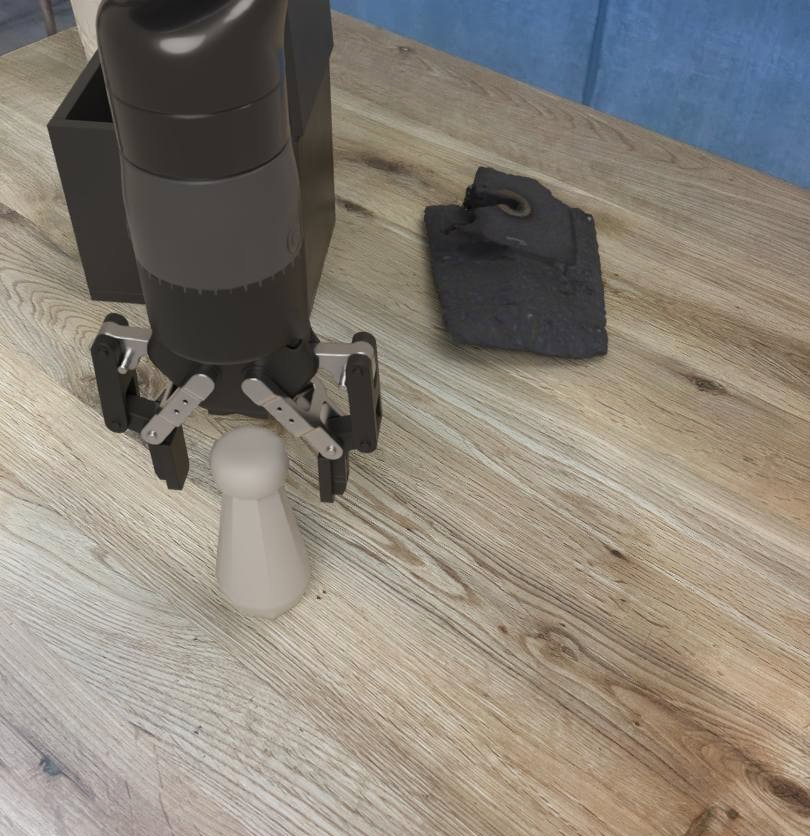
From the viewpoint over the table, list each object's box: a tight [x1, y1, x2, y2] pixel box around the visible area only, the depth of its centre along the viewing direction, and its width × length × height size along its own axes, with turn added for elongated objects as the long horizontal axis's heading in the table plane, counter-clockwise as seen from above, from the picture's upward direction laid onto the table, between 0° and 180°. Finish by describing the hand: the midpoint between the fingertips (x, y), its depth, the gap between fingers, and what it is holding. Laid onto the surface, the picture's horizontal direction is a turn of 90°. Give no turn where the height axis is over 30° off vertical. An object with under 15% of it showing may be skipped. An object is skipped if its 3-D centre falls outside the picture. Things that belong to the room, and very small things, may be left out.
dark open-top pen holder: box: [46, 49, 337, 317], centre depth 84 cm, size 18×14×15 cm
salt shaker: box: [208, 425, 313, 620], centre depth 61 cm, size 6×6×13 cm
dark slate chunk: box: [423, 165, 609, 360], centre depth 86 cm, size 15×22×5 cm
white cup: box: [69, 0, 102, 63], centre depth 108 cm, size 8×8×10 cm
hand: (254, 485), depth 59 cm, fingers open, 8 cm apart
